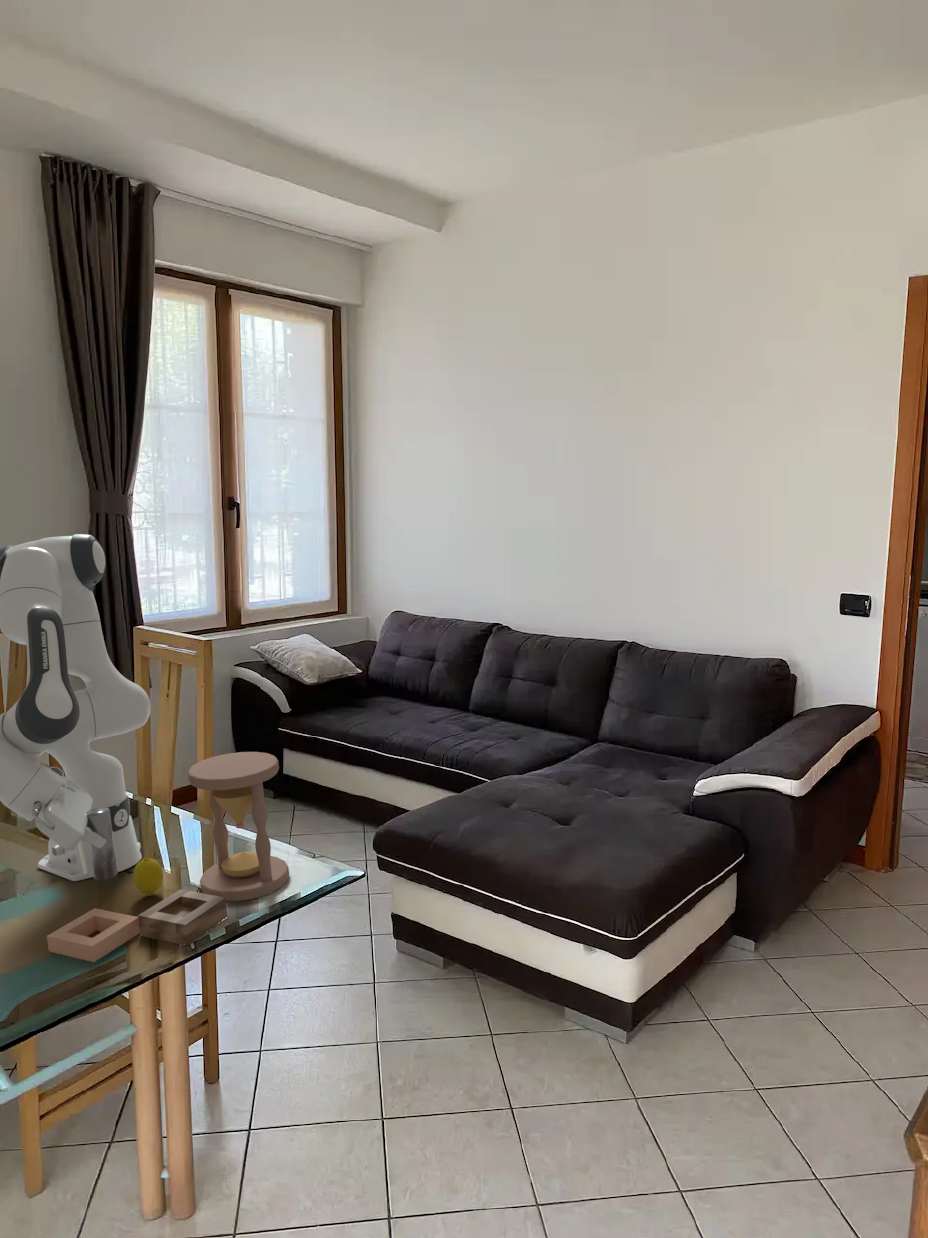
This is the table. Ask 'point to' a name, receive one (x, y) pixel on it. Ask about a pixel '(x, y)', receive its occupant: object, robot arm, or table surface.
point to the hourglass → (239, 824)
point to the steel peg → (104, 856)
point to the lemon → (148, 876)
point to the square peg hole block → (183, 917)
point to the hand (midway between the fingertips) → (105, 838)
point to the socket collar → (112, 935)
